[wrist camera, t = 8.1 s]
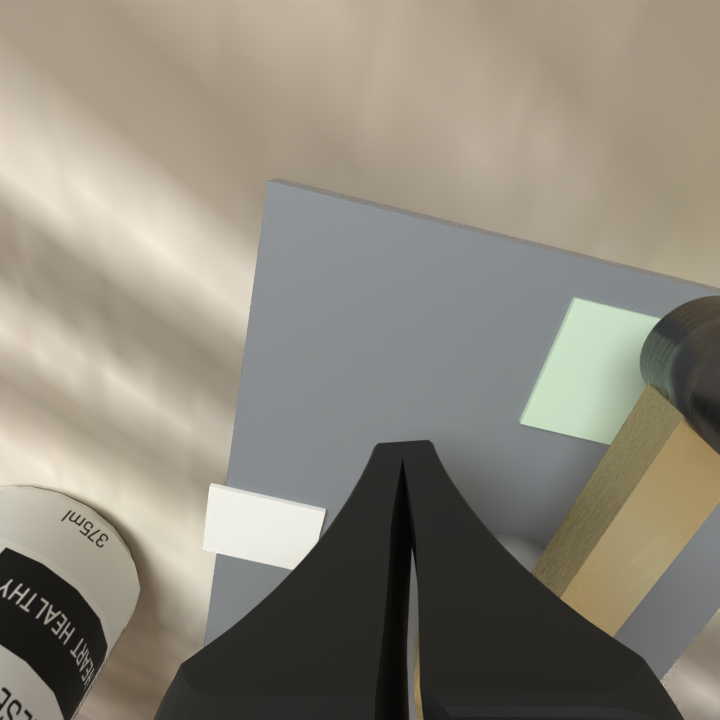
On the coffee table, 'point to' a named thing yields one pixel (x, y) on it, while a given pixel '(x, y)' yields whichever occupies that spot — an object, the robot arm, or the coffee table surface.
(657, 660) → the plate
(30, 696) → the supplement can
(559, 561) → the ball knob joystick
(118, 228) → the coffee table surface
